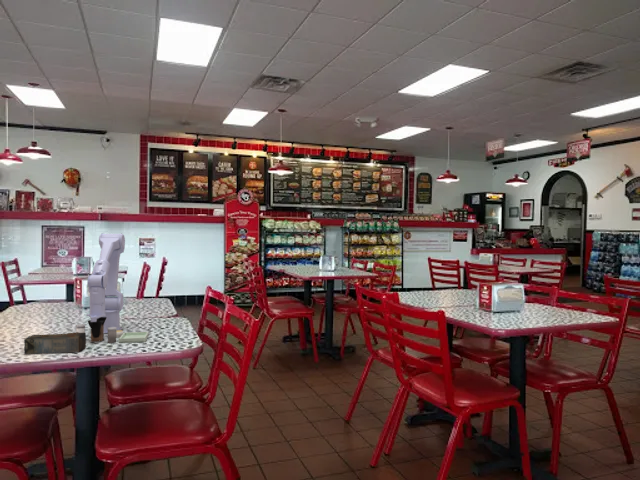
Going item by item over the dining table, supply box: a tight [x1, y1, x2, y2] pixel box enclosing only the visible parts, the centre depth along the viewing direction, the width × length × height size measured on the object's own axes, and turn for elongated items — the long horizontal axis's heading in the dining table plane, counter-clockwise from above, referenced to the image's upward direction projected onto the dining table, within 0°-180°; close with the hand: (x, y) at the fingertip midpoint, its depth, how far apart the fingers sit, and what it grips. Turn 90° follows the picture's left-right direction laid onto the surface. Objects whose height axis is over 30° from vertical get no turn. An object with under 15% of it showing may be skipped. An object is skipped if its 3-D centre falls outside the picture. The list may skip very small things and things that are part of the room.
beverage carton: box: [23, 331, 87, 355], centre depth 175 cm, size 8×19×7 cm, turn 101°
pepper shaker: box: [107, 327, 117, 344], centre depth 189 cm, size 3×3×6 cm
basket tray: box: [118, 331, 150, 344], centre depth 195 cm, size 12×10×2 cm
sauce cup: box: [116, 329, 124, 339], centre depth 200 cm, size 4×4×3 cm
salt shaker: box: [75, 323, 86, 333], centre depth 194 cm, size 3×3×6 cm
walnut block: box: [90, 325, 105, 342], centre depth 193 cm, size 4×4×6 cm
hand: (97, 336), depth 193 cm, fingers closed on walnut block, 4 cm apart
